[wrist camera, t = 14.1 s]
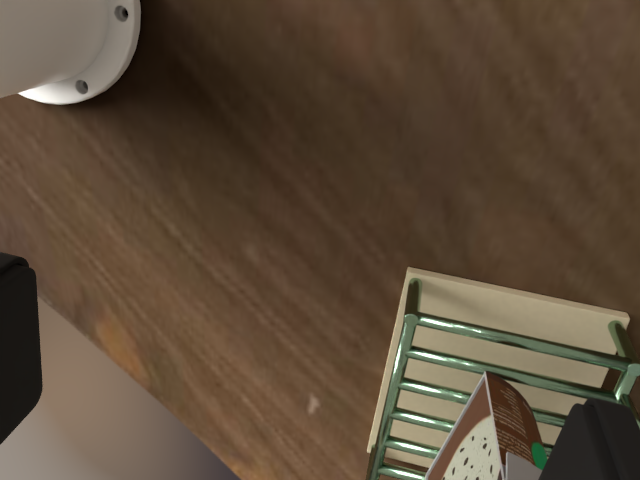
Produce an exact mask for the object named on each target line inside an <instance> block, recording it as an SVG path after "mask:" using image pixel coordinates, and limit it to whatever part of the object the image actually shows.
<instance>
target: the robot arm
mask: <svg viewBox="0 0 640 480" xmlns="http://www.w3.org/2000/svg"><path fill="white" fill-rule="evenodd" d="M126 10H127V12H128V17H127V15H126V13H125V11H126ZM140 20H141V6H140V0H0V98H2V97H6V96H9V95H13V94H16V93H18V94H20V95H22V96H24V97H26V98H28V99H32V100H35V101H38V102H42V103H47V104H58V105H64V104H71V103H78V102H81V101H84V100H87V99H90V98H93V97H95V96H97V95H99V94H100V93H102V92H104V91H106V90H107V89H109V88H110V87H111V86H112V85H113V84H114V83H115V82H117V81H118V80H119V78H120V77H121V76H122V74H123V73H124V72H125V70H126V69H127V67H128V66H129V64H130V62H131V59H132V57H133V55H134V52H135V50H136V46H137V42H138V37H139V33H140ZM87 85H88V86H87ZM41 393H42V370H41V353H40V336H39V319H38V302H37V285H36V274H35V272H34V270H33V269H31V268H29V264H28V262H27V261H26V259H24V258H22V257H18V256H14V255H10V254H6V253H2V252H0V444H1V443H2V442H3V441H4V440H5V439H6V438H7V437H8V436H9V435H10V434H11V432H12V431H13V430H14V429H15V428H16V427H17V426H18V425H19V424H20V423H21V421H22V420H23V419H24V418H25V417H26V416H27V415H28V414H29V413H30V412H31V410H32V409H33V408H34V407H35V406H36V404H37V403H38V401H39V399H40V396H41ZM538 480H640V428H639V426H638V424H637V421H636V419H635V417H634V414H633V412H632V411H631V409H630V408H629V407H628V406H625V405H621V404H617V403H613V402H609V401H605V400H601V399H597V398H593V397H592V398H589V399H587V400H586V401H585V403H584V405H583V404H579V403H576V404H574V405H573V406H572V408H571V410H570V412H569V414H568V416H567V418H566V421H565V423H564V425H563V427H562V429H561V431H560V434H559V436H558V438H557V440H556V442H555V444H554V447H553V449H552V451H551V453H550V455H549V457H548V460H547V462H546V464H545V466H544V468H543V470H542V473H541V475H540V477H539V479H538Z"/></svg>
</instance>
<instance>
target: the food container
mask: <svg viewBox="0 0 640 480" xmlns="http://www.w3.org/2000/svg"><path fill="white" fill-rule="evenodd" d="M547 460H548V459H547V456H546V452H545V449H544V446H543V443H542V439H541V436H540V433H539V430H538V426H537V423H536V420H535V417H534V414H533V412H532V409H531V407H530V406H529V404H528V402H527V401H526V399H525V398H524V397H523V396H522V395H521V394H520V392H519V391H518V390H516V389H515V388H514V387H513V386H512V385H511V384H509V383H508V382H506V381H505V380H503V379H502V378H500V377H498V376H496V375H494V374H492V373H490V372H487V371H485V372H484V374H483V376H482V378H481V379H480V381H479V383H478V385H477V386H476V388H475V390H474V392H473V393H472V395H471V397H470V399H469V400H468V402H467V404H466V405H465V407H464V409H463V411H462V412H461V414H460V416H459V418H458V419H457V421H456V423H455V425H454V426H453V428H452V430H451V431H450V433H449V435H448V437H447V438H446V440H445V442H444V444H443V445H442V447H441V449H440V451H439V452H438V454H437V456H436V458H435V459H434V461H433V463H432V464H431V466H430V468H429V470H428V471H427V473H426V475H425V480H538V479H539V477H540V475H541V473H542V470H543V468H544V466H545V464H546V462H547Z"/></svg>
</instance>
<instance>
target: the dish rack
mask: <svg viewBox="0 0 640 480" xmlns="http://www.w3.org/2000/svg"><path fill="white" fill-rule="evenodd" d="M629 321H630V318H629V316H628V314H627V313H625V312H621V311H616V310H611V309H606V308H602V307H597V306H592V305H588V304H583V303H578V302H573V301H569V300H564V299H559V298H554V297H550V296H545V295H540V294H535V293H531V292H526V291H521V290H516V289H512V288H507V287H502V286H497V285H493V284H488V283H483V282H478V281H474V280H469V279H464V278H459V277H455V276H450V275H445V274H440V273H436V272H431V271H426V270H421V269H417V268H412V267H408V268H407V273H406V277H405V282H404V286H403V291H402V295H401V299H400V304H399V308H398V313H397V317H396V322H395V326H394V331H393V335H392V340H391V344H390V349H389V353H388V358H387V362H386V367H385V371H384V376H383V380H382V385H381V389H380V394H379V398H378V402H377V407H376V411H375V416H374V420H373V425H372V429H371V434H370V438H369V443H368V448H367V452H368V453H370V457H369V463H368V469H367V475H366V480H379V478H380V474H382V475H386V476H390V477H393V478H397V479H401V480H425V475H426V473H425V472H421V471H417V470H413V469H409V468H405V467H401V466H397V465H393V464H389V463H385V462H384V458H385V457H388V458H392V459H396V460H400V461H404V462H408V463H412V464H416V465H420V466H424V467H427V468H430V466H431V464H432V463H433V461H434V459H435V458H436V456H437V454H438V452H439V451H440V449H441V447H442V445H443V444H444V442H445V440H446V438H447V437H448V435H449V433H450V431H451V430H452V428H453V426H454V425H455V423H456V421H457V419H458V418H459V416H460V414H461V412H462V411H463V409H464V407H465V405H466V404H467V402H468V400H469V399H470V397H471V395H472V393H473V392H474V390H475V388H476V386H477V385H478V383H479V381H480V379H481V378H482V376H483V374H484V372H485V371H487V372H490V373H492V374H494V375H496V376H498V377H500V378H502V379H503V380H505V381H506V382H508V383H509V384H511V385H512V386H513V387H514V388H515V389H516V390H518V391H519V392H520V394H521V395H522V396H523V397H524V398H525V399H526V401H527V402H528V404H529V406H530V407H531V409H532V412H533V414H534V417H535V420H536V423H537V426H538V430H539V433H540V436H541V439H542V443H543V446H544V449H545V452H546V456H547V459H548V457H549V455H550V453H551V451H552V449H553V447H554V444H555V442H556V440H557V438H558V436H559V434H560V431H561V429H562V427H563V425H564V423H565V421H566V418H567V416H568V414H569V412H570V410H571V408H572V406H573V405H574V404H576V403H579V404H583V405H584V403H585V401H586V400H587V399H589V398H592V397H593V398H597V399H601V400H605V401H609V402H613V403H617V404H621V405H625V406H628V407H629V408H630V409H631V411H632V412H633V414H634V417H635V419H636V421H637V424H638V426H639V428H640V419H639V417H638V414H637V412H636V410H635V407H634V405H633V402H632V400H631V397H630V396H629V394H630V392H631V389H632V387H633V385H634V383H635V381H636V379H637V376H640V359H639V357H638V355H637V353H636V351H635V349H634V347H633V345H632V343H631V340H630V338H629V336H628V334H627V332H626V328H627V326H628V323H629ZM616 351H618V354H619V356H618V355H615V353H616ZM609 368H611V369H615V370H620V371H622V373H621V375H620V377H619V379H618V382H617V384H616V386H615V388H614V391H612V390H607V389H603V388H601V386H602V384H603V381H604V379H605V377H606V374H607V372H608V370H609Z"/></svg>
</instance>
